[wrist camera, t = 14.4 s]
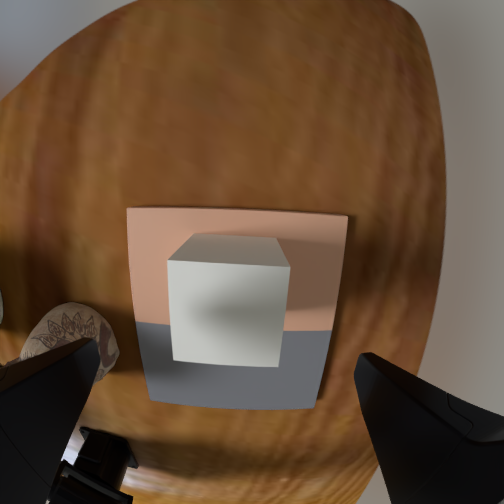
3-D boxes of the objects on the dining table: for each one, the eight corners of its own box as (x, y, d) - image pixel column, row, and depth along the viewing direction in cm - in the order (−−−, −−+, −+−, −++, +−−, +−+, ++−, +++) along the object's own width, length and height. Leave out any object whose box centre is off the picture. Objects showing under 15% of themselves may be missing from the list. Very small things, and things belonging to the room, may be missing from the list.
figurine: (108, 382, 21) (54, 478, 9) (49, 342, 20) (-22, 416, 9) (128, 330, 20) (53, 442, 8) (60, 283, 19) (-40, 356, 7)
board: (311, 400, 22) (313, 408, 21) (153, 392, 21) (150, 400, 20) (342, 214, 18) (348, 216, 17) (132, 206, 17) (126, 208, 16)
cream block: (269, 312, 18) (278, 367, 12) (194, 307, 18) (173, 360, 12) (275, 237, 17) (290, 266, 11) (193, 233, 17) (167, 259, 11)
